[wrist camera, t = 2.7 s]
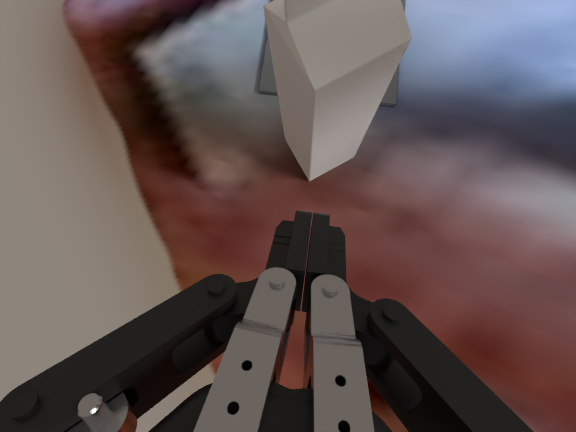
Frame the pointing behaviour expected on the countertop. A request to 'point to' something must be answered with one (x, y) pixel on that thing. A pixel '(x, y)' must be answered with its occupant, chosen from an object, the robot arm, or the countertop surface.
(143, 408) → the robot arm
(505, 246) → the countertop surface
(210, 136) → the countertop surface
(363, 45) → the milk
